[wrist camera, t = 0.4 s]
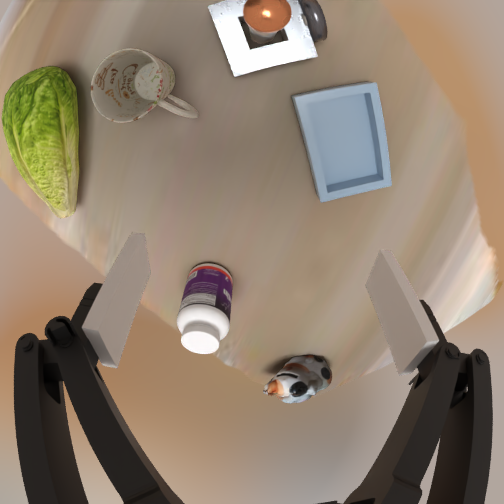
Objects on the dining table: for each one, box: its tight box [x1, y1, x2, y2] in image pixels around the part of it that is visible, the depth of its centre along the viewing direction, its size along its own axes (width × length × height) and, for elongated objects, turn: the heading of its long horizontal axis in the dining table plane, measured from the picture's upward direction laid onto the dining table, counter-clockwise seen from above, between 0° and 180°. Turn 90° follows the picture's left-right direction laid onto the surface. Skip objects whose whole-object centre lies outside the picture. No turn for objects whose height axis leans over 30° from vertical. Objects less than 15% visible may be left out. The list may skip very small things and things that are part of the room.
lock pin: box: [243, 0, 292, 44], centre depth 22 cm, size 4×4×13 cm
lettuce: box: [2, 66, 79, 218], centre depth 31 cm, size 12×24×13 cm
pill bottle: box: [177, 263, 233, 354], centre depth 45 cm, size 8×8×14 cm
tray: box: [291, 82, 392, 203], centre depth 35 cm, size 15×11×3 cm
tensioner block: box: [208, 0, 327, 77], centre depth 25 cm, size 10×12×6 cm
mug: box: [91, 48, 199, 123], centre depth 28 cm, size 8×13×10 cm, turn 56°
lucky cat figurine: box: [263, 355, 332, 403], centre depth 62 cm, size 15×12×14 cm
